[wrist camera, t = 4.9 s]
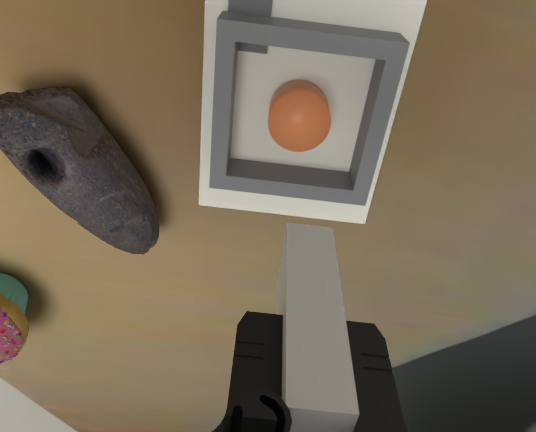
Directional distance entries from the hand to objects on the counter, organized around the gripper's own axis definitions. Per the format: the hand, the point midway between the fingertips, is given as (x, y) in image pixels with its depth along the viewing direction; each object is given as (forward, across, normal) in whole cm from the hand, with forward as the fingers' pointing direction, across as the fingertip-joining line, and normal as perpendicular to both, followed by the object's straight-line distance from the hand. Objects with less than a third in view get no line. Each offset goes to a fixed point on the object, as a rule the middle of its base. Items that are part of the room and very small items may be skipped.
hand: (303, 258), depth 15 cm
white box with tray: (+19, 0, 0) cm, 19 cm away
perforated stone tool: (+20, -14, -7) cm, 25 cm away
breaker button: (+15, 0, 0) cm, 15 cm away
